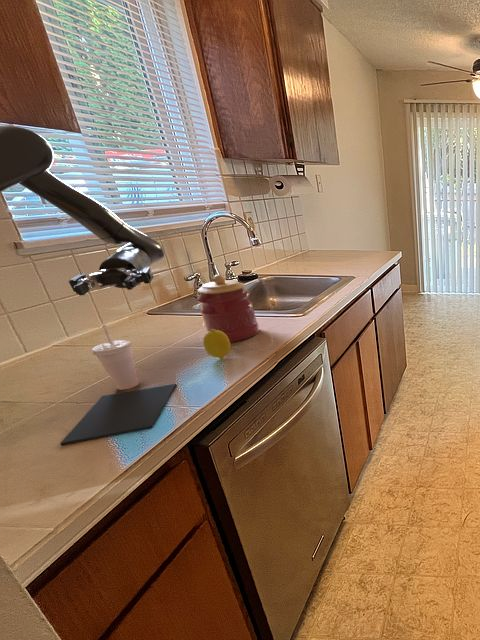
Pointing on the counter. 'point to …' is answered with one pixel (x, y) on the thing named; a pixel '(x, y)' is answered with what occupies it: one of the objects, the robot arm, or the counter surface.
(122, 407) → the mat
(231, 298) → the kitchen canister
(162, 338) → the counter surface
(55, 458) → the counter surface
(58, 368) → the counter surface
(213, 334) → the lemon
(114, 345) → the smoothie
